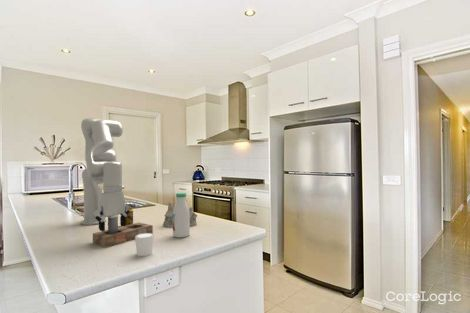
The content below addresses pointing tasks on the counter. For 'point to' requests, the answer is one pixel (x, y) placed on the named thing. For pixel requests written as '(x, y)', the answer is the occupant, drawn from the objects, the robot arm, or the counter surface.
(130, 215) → the condiment
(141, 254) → the shot glass
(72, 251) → the counter surface
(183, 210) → the milk bottle
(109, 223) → the grey rounded cylinder
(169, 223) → the gray stone sculpture
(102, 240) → the socket block
